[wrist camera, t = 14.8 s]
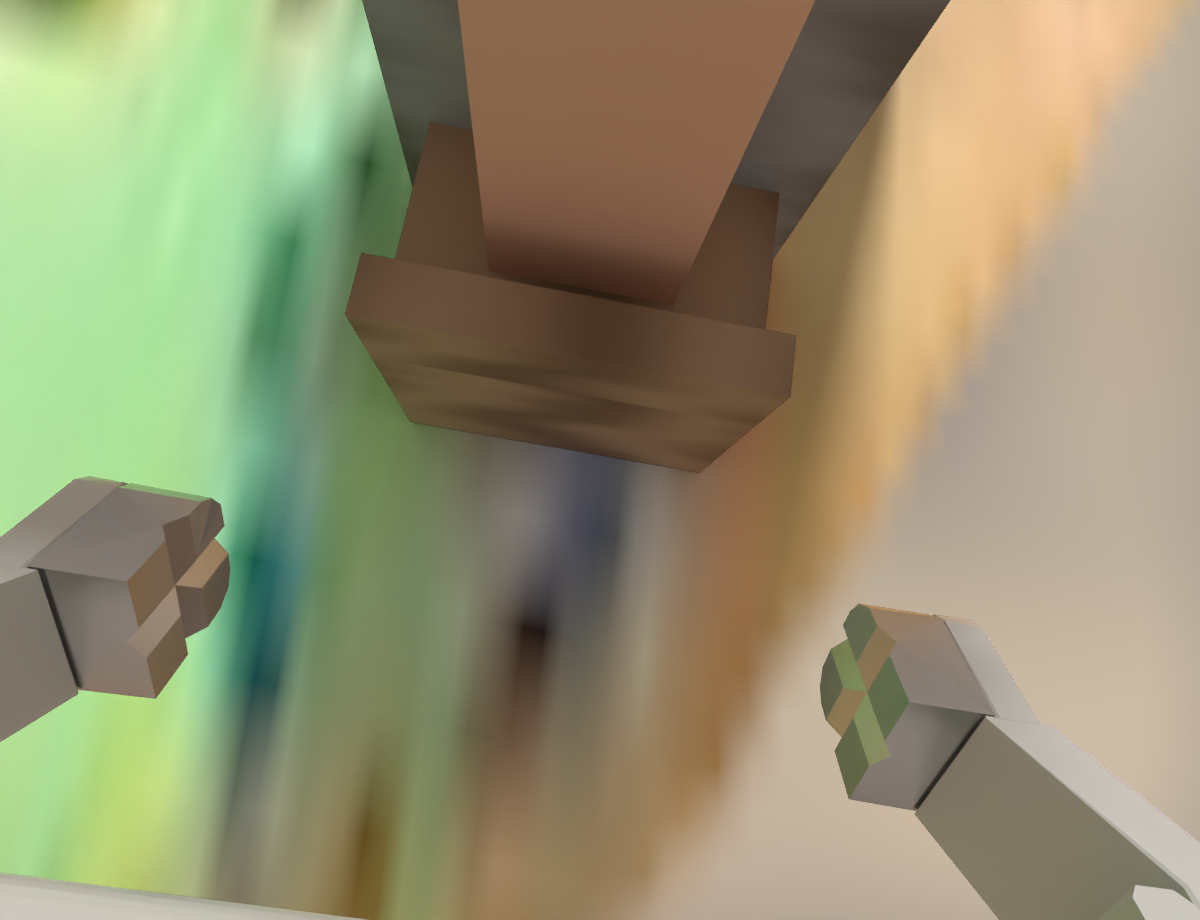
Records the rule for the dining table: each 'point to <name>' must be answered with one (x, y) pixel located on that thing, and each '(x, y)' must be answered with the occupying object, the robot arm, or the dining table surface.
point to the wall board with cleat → (594, 318)
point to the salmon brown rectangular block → (615, 129)
